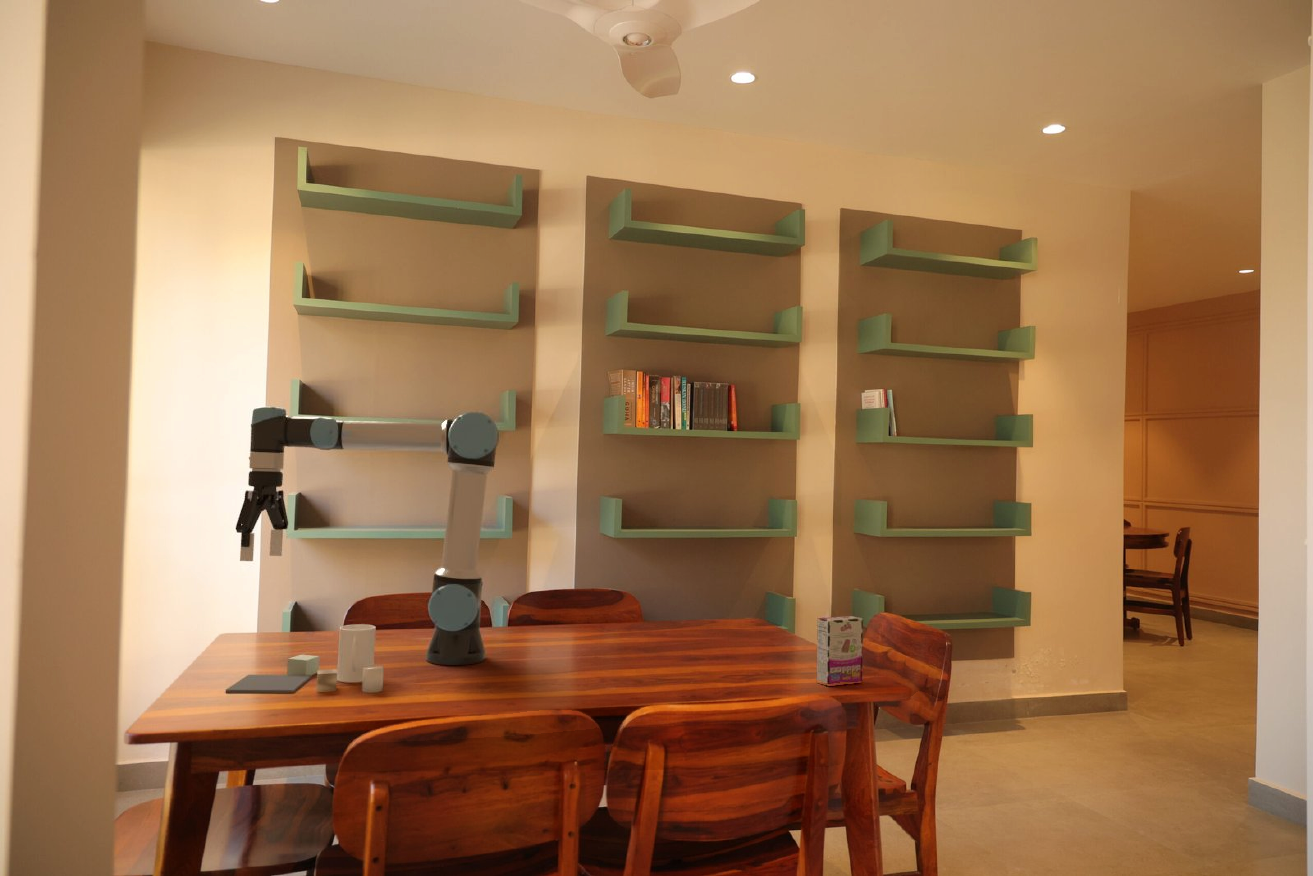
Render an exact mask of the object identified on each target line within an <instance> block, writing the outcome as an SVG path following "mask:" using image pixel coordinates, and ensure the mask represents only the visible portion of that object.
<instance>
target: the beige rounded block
mask: <svg viewBox="0 0 1313 876" xmlns="http://www.w3.org/2000/svg"><path fill="white" fill-rule="evenodd" d="M384 669H385V668H384V666H383V665H377V664H376V665H372V666H365V667H363V679H362V682H361V691H362V692H363V693H367V694H369V693H373V694H374V693H379V692H383V688H384V672H385V671H384Z"/></svg>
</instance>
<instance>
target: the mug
mask: <svg viewBox="0 0 1313 876" xmlns="http://www.w3.org/2000/svg"><path fill="white" fill-rule="evenodd" d="M376 631H377V630H376V626H375V625H372V624H365V623H361V624H360V623H359V624H354V623H353V624H345V625H341V626H340V627H339V634H338V635H339V636H338V649H337V651H338V652H337V668H336V669H337V682H341V683H345V684H346V683H347V684H349V683H351V684H353V683H362V679H363V667H365V666H372V665H374V664H375V649H376V648H375V646H376Z"/></svg>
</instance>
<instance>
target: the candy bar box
mask: <svg viewBox="0 0 1313 876" xmlns="http://www.w3.org/2000/svg"><path fill="white" fill-rule="evenodd" d="M863 621H864V619H863V618H862V617H857V616H854V615H846V616H831V617H818V618H817V625H816V626H817V635H816V637H817V640H816V646H817V647H816V649H817V651H816V652H817V653H816V681H817V680H818V681H820V682H824V683H827V684H833V683H840V682H858V681H862V682H863V637H864V636H863V634H864V633H863V630H864V629H863V628H864V627H863V624H864V623H863Z"/></svg>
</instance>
